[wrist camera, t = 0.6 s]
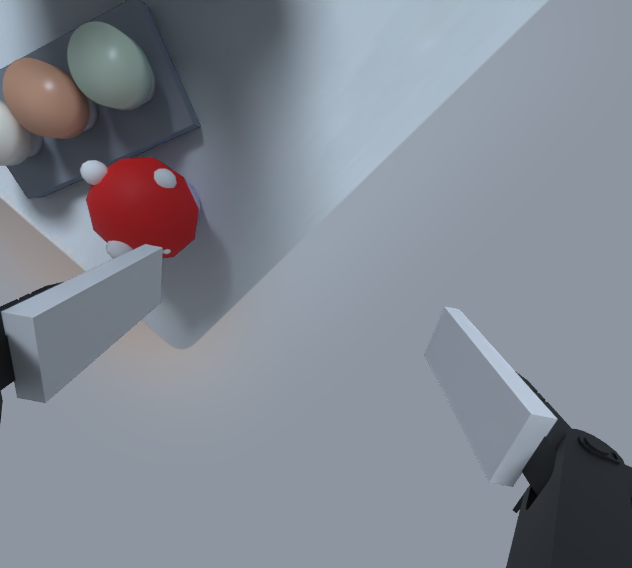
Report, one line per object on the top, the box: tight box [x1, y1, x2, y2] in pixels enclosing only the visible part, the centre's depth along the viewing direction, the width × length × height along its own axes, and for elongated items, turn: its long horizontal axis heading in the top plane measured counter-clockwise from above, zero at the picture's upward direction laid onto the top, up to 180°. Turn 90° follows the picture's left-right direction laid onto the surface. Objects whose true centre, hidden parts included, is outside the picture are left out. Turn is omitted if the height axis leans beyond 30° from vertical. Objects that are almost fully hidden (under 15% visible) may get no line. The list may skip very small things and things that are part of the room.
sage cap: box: [67, 21, 152, 111], centre depth 30 cm, size 7×7×2 cm
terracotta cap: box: [3, 58, 90, 139], centre depth 31 cm, size 7×7×2 cm
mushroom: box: [80, 158, 200, 259], centre depth 34 cm, size 11×11×12 cm
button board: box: [0, 0, 201, 199], centre depth 35 cm, size 12×23×3 cm, turn 110°
